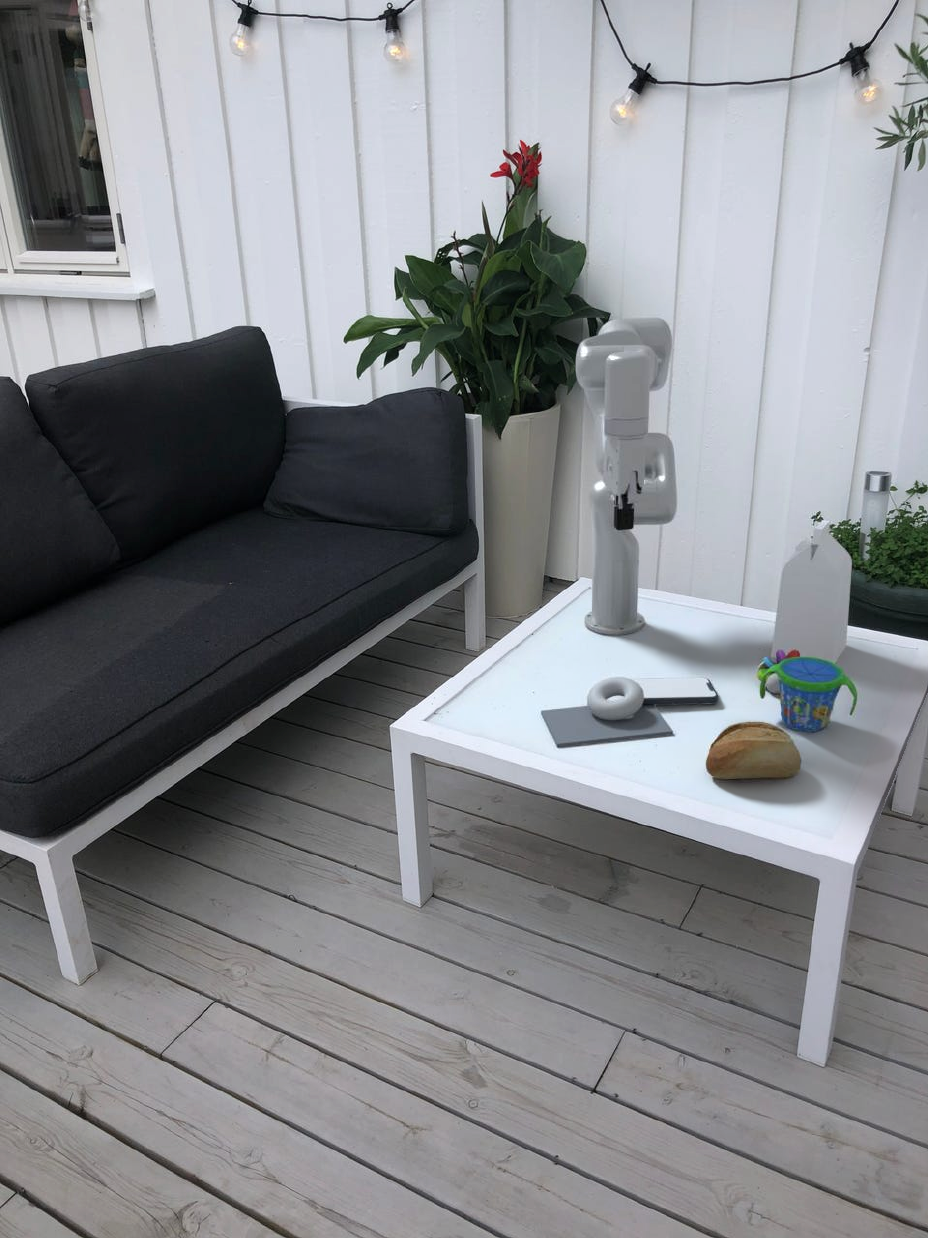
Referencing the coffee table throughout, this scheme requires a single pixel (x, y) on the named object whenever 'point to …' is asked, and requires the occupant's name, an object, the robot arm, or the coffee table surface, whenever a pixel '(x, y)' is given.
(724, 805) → the coffee table surface
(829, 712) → the snack cup
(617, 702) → the donut
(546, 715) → the mat
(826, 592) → the milk
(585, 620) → the robot arm
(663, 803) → the coffee table surface
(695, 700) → the smartphone
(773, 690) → the multicolored rounded-lobe toy
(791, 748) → the bread roll
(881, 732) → the coffee table surface
